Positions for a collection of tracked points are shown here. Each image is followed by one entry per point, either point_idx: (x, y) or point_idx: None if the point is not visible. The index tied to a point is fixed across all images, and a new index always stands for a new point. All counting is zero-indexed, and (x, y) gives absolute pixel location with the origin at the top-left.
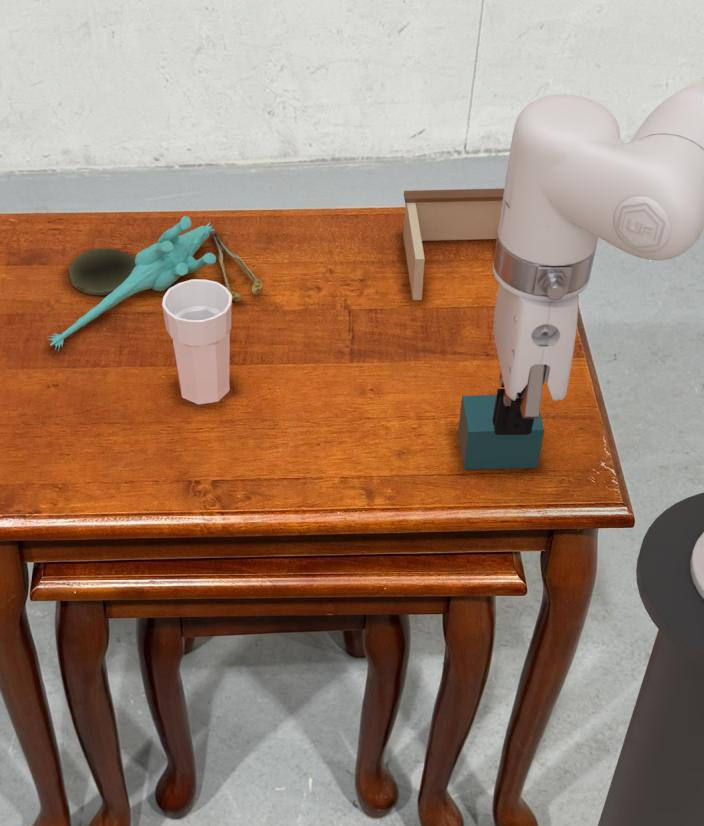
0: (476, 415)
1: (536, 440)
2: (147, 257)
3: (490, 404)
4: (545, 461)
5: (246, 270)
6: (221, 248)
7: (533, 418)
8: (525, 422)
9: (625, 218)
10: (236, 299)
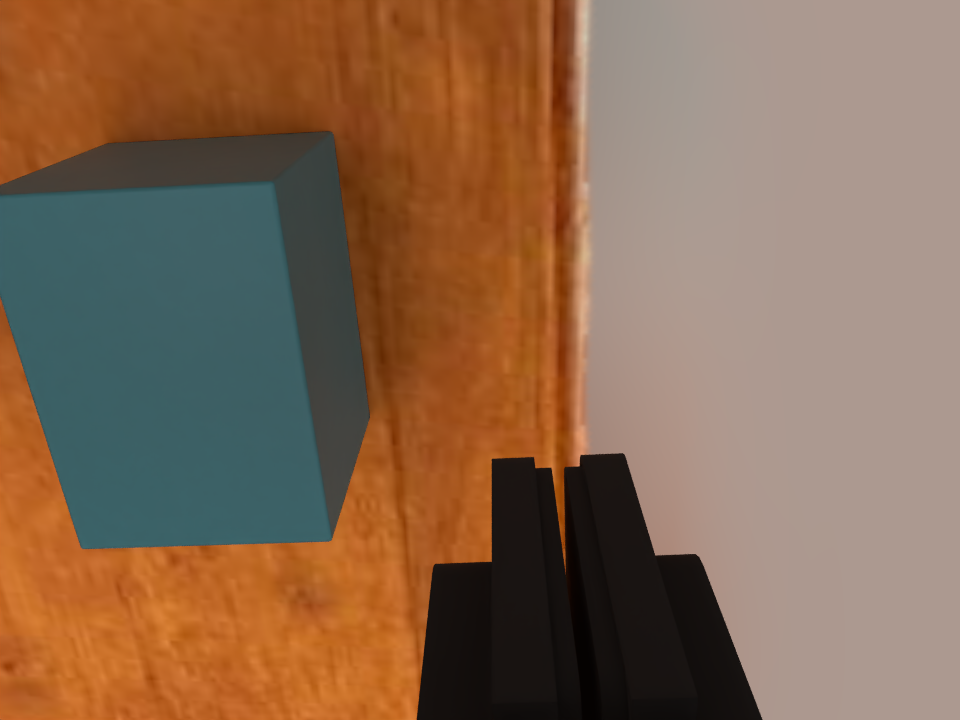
0: (213, 504)
1: (298, 196)
2: None
3: (117, 436)
4: (285, 88)
5: None
6: None
7: (648, 541)
8: (723, 621)
9: None
10: None
